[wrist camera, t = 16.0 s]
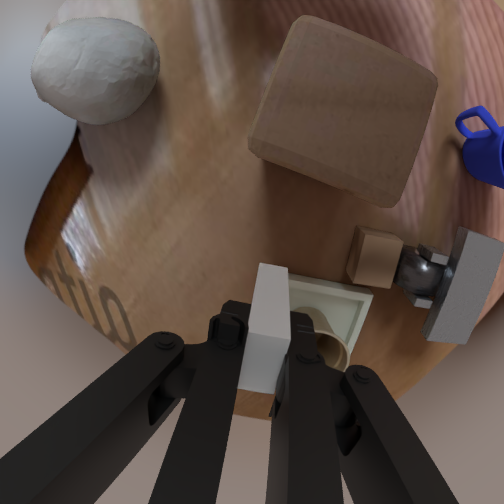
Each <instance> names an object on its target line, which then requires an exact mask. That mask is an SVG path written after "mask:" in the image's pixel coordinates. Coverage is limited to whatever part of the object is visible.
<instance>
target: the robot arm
mask: <svg viewBox="0 0 504 504" xmlns="http://www.w3.org/2000/svg"><path fill="white" fill-rule="evenodd" d="M237 388H239V389H244V390H249V391H255V392H261V393H267V394H273V395H274V392H275V389H276V396H275V399H274V402H273V405H272V408H271V411H270V413H269V417H271V416H272V424H271V438H270V439H271V440H270V454H269V466H268V480H267V491H266V502H265V504H344V501H343V490H342V481H341V473H342V475H343V477H344V480H345V483H346V485H347V488H348V490H349V492H350V495H351V497H352V500H353V502H354V504H459V503H458V501H457V500H456V498H455V496H454V495H453V493H452V491H451V490H450V488H449V486H448V485H447V483H446V481H445V480H444V478H443V477H442V475H441V473H440V471H439V470H438V468H437V466H436V465H435V463H434V462H433V460H432V459H431V457H430V455H429V454H428V452H427V451H426V449H425V447H424V446H423V444H422V442H421V441H420V439H419V438H418V436H417V435H416V433H415V431H414V430H413V428H412V427H411V425H410V424H409V422H408V421H407V419H406V417H405V416H404V414H403V413H402V411H401V410H400V408H399V407H398V405H397V404H396V402H395V401H394V399H393V398H392V396H391V395H390V393H389V391H388V390H387V388H386V387H385V385H384V384H383V382H382V381H381V379H380V378H379V376H378V375H377V374H376V373H375V372H374V371H373V370H371V369H370V368H368V367H366V366H362V365H352V366H349V367H348V368H346V370H345V372H343V371H340V370H337V369H334V368H332V367H329V366H328V365H326V364H325V359H324V357H323V356H322V355H321V354H320V353H319V352H318V351H317V344H316V338H315V331H314V325H313V320H312V319H311V318H310V316H309V315H308V314H306V313H300V312H295V311H290V306H289V284H288V268H286V267H281V266H276V265H271V264H265V263H260V264H259V269H258V274H257V279H256V284H255V289H254V294H253V299H252V304H247V303H242V302H237V301H232V300H229V301H228V302H226V303H225V304H223V306H222V309H221V312H220V314H218V315H216V316H213V317H212V318H211V319H210V323H209V331H208V339H207V341H206V342H204V343H200V344H184V341H183V340H182V338H181V337H180V336H178V335H176V334H174V333H171V332H162V331H161V332H156V333H153V334H151V335H149V336H148V337H147V338H146V339H144V340H143V341H142V342H141V343H140V344H138V345H137V346H136V347H135V348H133V349H132V350H131V351H130V352H129V353H127V354H126V355H125V356H124V357H123V358H121V359H120V360H119V361H118V362H117V363H115V364H114V365H113V366H112V367H110V368H109V369H108V370H107V371H106V372H105V373H103V374H102V375H101V376H100V377H98V378H97V379H96V380H95V381H94V382H92V383H91V384H90V385H89V386H88V387H87V388H85V389H84V390H83V391H82V392H80V393H79V394H78V395H77V396H75V397H74V398H73V399H72V400H71V401H69V403H67V404H66V405H65V406H63V407H62V408H61V409H60V410H59V411H57V412H56V413H55V414H54V415H53V416H51V417H50V418H49V419H48V420H46V421H45V422H44V423H43V424H42V425H40V426H39V427H38V428H37V429H36V430H34V431H33V432H32V433H31V434H30V435H28V436H27V437H26V438H25V439H24V440H22V441H21V442H20V443H19V444H17V445H16V446H15V447H14V448H13V449H11V450H10V451H9V452H8V453H7V454H5V455H4V456H3V457H2V458H1V459H0V504H94V503H95V502H96V501H97V499H98V498H99V497H100V496H101V495H102V494H103V493H104V492H105V490H106V489H107V488H108V487H109V486H110V485H111V484H112V482H113V481H114V480H115V479H116V478H117V477H118V476H119V474H120V473H121V472H122V471H123V470H124V468H125V467H126V466H127V465H128V464H129V463H130V461H131V460H132V459H133V458H134V457H135V456H136V454H137V453H138V452H139V451H140V450H141V448H142V447H143V446H144V445H145V444H146V442H147V441H148V440H149V439H150V437H151V436H152V435H153V434H154V433H155V431H156V430H157V429H158V428H159V426H160V425H161V424H162V423H163V422H164V421H165V419H166V418H167V417H168V416H169V414H170V413H171V412H172V411H173V409H174V408H175V407H176V406H177V404H178V403H179V402H180V400H181V398H186V400H185V402H184V405H183V408H182V411H181V413H180V416H179V419H178V422H177V424H176V427H175V430H174V432H173V435H172V438H171V441H170V444H169V446H168V449H167V452H166V455H165V458H164V461H163V463H162V466H161V469H160V472H159V475H158V478H157V480H156V483H155V486H154V489H153V492H152V494H151V497H150V500H149V503H148V504H215V503H216V498H217V493H218V488H219V483H220V478H221V472H222V467H223V462H224V457H225V452H226V447H227V441H228V436H229V431H230V426H231V420H232V415H233V410H234V404H235V399H236V394H237ZM340 470H341V471H340Z"/></svg>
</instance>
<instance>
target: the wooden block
mask: <svg viewBox="0 0 504 504" xmlns="http://www.w3.org/2000/svg"><path fill="white" fill-rule="evenodd" d="M437 87H438V81H437V77H436V76H435V75H434V74H433V73H432V72H431V71H430V70H428V69H426V68H425V67H423V66H421V65H420V64H418V63H416V62H414V61H413V60H411V59H409V58H407V57H405V56H404V55H402V54H400V53H398V52H396V51H394V50H392V49H390V48H388V47H386V46H384V45H382V44H380V43H378V42H376V41H374V40H372V39H370V38H368V37H365V36H363V35H361V34H359V33H356V32H354V31H352V30H349V29H347V28H344V27H342V26H339V25H337V24H334V23H332V22H329V21H326V20H323V19H321V18H318V17H315V16H310V15H302V16H301V17H299V18H298V19H297V20H296V21H295V22H293V23H292V25H291V28H290V30H289V32H288V35H287V37H286V40H285V42H284V44H283V47H282V49H281V52H280V54H279V57H278V59H277V62H276V64H275V67H274V69H273V72H272V74H271V77H270V79H269V82H268V84H267V87H266V89H265V92H264V94H263V97H262V100H261V102H260V105H259V107H258V110H257V113H256V115H255V118H254V121H253V123H252V126H251V129H250V131H249V134H248V149H249V150H250V151H251V152H252V153H254V154H255V155H256V156H257V157H258V158H261V159H264V160H266V161H269V162H272V163H275V164H277V165H280V166H283V167H285V168H288V169H291V170H293V171H296V172H298V173H301V174H303V175H306V176H308V177H311V178H313V179H316V180H318V181H321V182H323V183H326V184H328V185H331V186H333V187H335V188H338V189H340V190H342V191H345V192H347V193H349V194H352V195H354V196H356V197H358V198H361V199H363V200H365V201H367V202H369V203H372V204H374V205H376V206H378V207H380V208H392V207H394V206H395V205H396V203H397V202H398V201H399V200H400V198H401V195H402V193H403V190H404V188H405V185H406V183H407V180H408V177H409V175H410V172H411V169H412V167H413V164H414V161H415V158H416V155H417V152H418V150H419V147H420V144H421V141H422V138H423V135H424V132H425V128H426V125H427V122H428V119H429V116H430V112H431V109H432V105H433V102H434V98H435V95H436V91H437Z"/></svg>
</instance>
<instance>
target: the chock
mask: <svg viewBox="0 0 504 504" xmlns="http://www.w3.org/2000/svg"><path fill="white" fill-rule="evenodd" d="M402 246H403V241H402V240H400V239H399V238H398V237H396V236H395V235H394V234H392V233H390V232H386V231H381V230H376V229H371V228H366V227H361V226H356V229H355V233H354V238H353V242H352V246H351V251H350V255H349V259H348V263H347V267H346V271H347V273H348V275H349V277H350V279H351V280H352V282H353V283H355V284H362V285H369V286H375V287H382V288H389V289H390V287H391V284H392V281H393V278H394V274H395V271H396V267H397V264H398V261H399V257H400V253H401V250H402Z"/></svg>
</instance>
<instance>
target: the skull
mask: <svg viewBox="0 0 504 504" xmlns="http://www.w3.org/2000/svg"><path fill="white" fill-rule="evenodd" d="M159 71H160V55H159V51H158V49H157V46H156V44H155V42H154V40H153V39H152V38H151V36H150V35H149V34H148V33H147V32H146V31H144V30H143V29H142V28H140V27H139V26H136V25H134V24H132V23H130V22H127V21H124V20H119V19H113V18H105V17H95V18H79V19H71V20H67V21H65V22H63V23H61V24H59V25H57V26H56V27H54V28H53V29H51V30H50V32H49V33H48V34H47V35H46V37H45V38H44V40H43V41H42V43H41V44H40V46H39V48H38V50H37V52H36V54H35V56H34V59H33V63H32V67H31V79H32V82H33V84H34V86H35V89H36V92H37V95H38V97H39V98H40V99H41V100H42V101H43V102H47V103H49V104H50V105H51V106H53V107H54V108H56V109H57V110H59V111H61V112H62V113H63V114H65V115H67V116H69V117H71V118H73V119H76V120H78V121H81V122H83V123H87V124H91V125H103V124H110V123H113V122H116V121H120V120H122V119H125V118H126V117H128V116H130V115H131V114H133V113H134V112H135V111H136V110H137V109H138V108H139V107H140V106H141V105H142V104H143V102H144V101H145V100H146V98H147V97H148V96H149V94H150V92H151V91H152V89H153V87H154V85H155V83H156V80H157V77H158V74H159Z"/></svg>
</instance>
